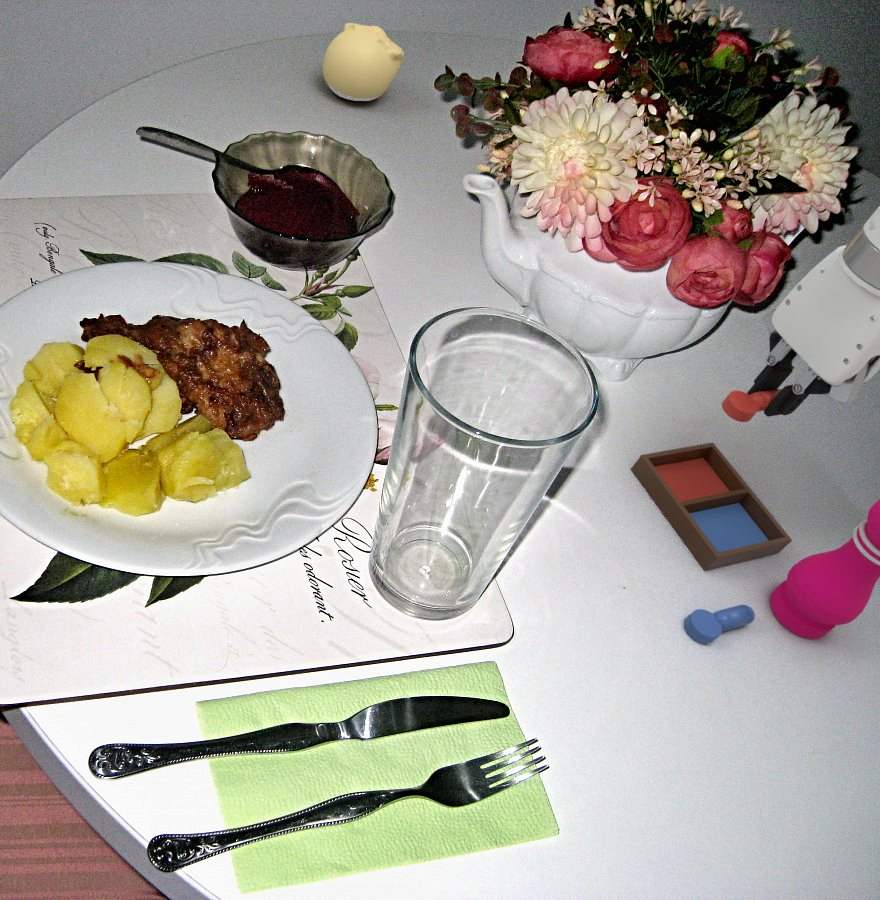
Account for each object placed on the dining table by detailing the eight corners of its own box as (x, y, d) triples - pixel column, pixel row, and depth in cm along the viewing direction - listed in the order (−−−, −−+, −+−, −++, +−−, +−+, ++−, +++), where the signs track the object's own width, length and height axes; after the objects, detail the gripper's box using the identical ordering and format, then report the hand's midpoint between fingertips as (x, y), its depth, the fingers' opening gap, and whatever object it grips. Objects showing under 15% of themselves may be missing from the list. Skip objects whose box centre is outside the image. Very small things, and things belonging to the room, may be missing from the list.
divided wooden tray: (701, 455, 107) (713, 442, 105) (778, 553, 99) (792, 540, 97) (630, 468, 103) (641, 454, 101) (704, 571, 95) (717, 558, 93)
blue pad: (738, 503, 102) (739, 502, 102) (772, 546, 98) (773, 545, 98) (676, 516, 99) (677, 515, 98) (709, 561, 95) (709, 560, 95)
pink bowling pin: (846, 637, 92) (997, 525, 78) (793, 649, 90) (939, 535, 75) (802, 578, 97) (938, 461, 82) (751, 588, 94) (881, 469, 80)
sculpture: (399, 99, 151) (419, 36, 143) (357, 118, 144) (375, 53, 136) (348, 68, 155) (364, 5, 147) (304, 85, 148) (318, 20, 140)
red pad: (701, 461, 106) (712, 447, 104) (736, 505, 102) (749, 492, 100) (638, 472, 103) (648, 458, 101) (671, 519, 99) (683, 505, 97)
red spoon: (770, 393, 95) (781, 379, 94) (789, 415, 94) (801, 402, 92) (715, 401, 93) (726, 387, 91) (734, 424, 91) (745, 410, 89)
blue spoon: (735, 604, 93) (746, 594, 91) (755, 631, 91) (766, 621, 89) (677, 619, 90) (688, 609, 88) (696, 647, 88) (707, 637, 87)
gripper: (986, 319, 77) (844, 456, 90) (857, 208, 86) (745, 348, 99) (927, 326, 74) (790, 467, 88) (800, 211, 83) (694, 354, 97)
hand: (767, 402), depth 93 cm, fingers closed on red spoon, 2 cm apart
